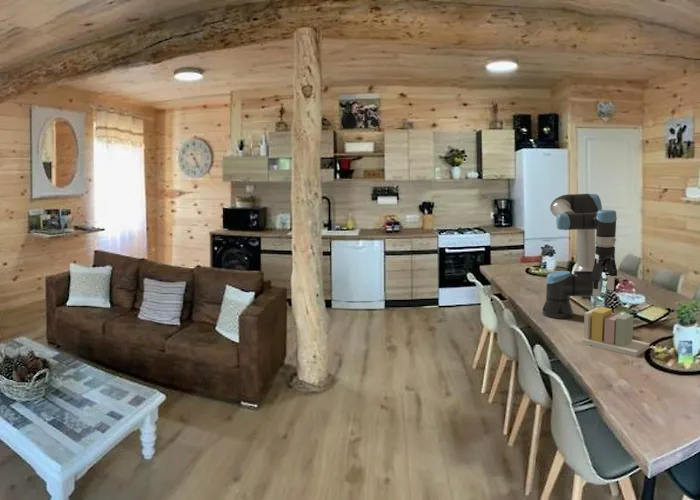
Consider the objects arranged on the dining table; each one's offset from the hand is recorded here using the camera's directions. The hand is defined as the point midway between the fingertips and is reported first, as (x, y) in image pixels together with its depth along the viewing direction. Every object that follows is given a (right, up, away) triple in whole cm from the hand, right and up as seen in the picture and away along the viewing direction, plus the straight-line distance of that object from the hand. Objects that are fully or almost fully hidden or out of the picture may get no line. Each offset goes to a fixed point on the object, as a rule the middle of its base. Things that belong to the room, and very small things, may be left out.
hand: (603, 292), depth 210 cm
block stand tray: (+5, -23, -1) cm, 24 cm away
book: (+1, -21, +3) cm, 21 cm away
